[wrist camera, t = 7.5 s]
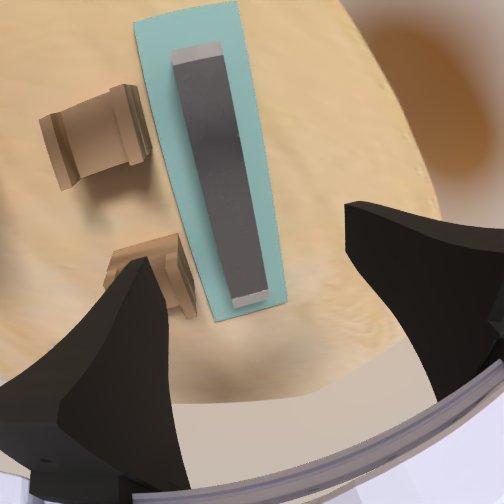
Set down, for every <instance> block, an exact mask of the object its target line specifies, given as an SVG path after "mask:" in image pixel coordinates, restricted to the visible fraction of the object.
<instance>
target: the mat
mask: <svg viewBox="0 0 504 504" xmlns="http://www.w3.org/2000/svg"><path fill="white" fill-rule="evenodd" d="M133 25H134V30H135V36H136V41H137V46H138V51H139V56H140V60H141V65H142V70H143V74H144V79H145V83H146V88H147V92H148V96H149V100H150V105H151V109H152V113H153V117H154V121H155V125H156V129H157V133H158V137H159V141H160V144H161V148H162V152H163V156H164V159H165V163H166V167H167V170H168V174H169V177H170V181H171V184H172V188H173V191H174V195H175V198H176V202H177V205H178V208H179V212H180V215H181V218H182V222H183V225H184V228H185V231H186V235H187V238H188V241H189V244H190V247H191V251H192V254H193V257H194V260H195V263H196V266H197V269H198V272H199V275H200V278H201V281H202V284H203V287H204V290H205V293H206V296H207V299H208V301H209V304H210V307H211V310H212V313H213V316H214V318H215V321H216V322H217V321H221V320H225V319H228V318H232V317H236V316H239V315H243V314H247V313H250V312H254V311H257V310H261V309H264V308H268V307H271V306H275V305H278V304H282V303H285V302H288V299H287V292H286V284H285V277H284V270H283V262H282V255H281V248H280V242H279V235H278V228H277V221H276V215H275V208H274V202H273V195H272V189H271V183H270V177H269V171H268V164H267V158H266V152H265V146H264V141H263V135H262V129H261V123H260V118H259V112H258V106H257V101H256V95H255V90H254V85H253V79H252V74H251V69H250V64H249V58H248V53H247V48H246V43H245V38H244V33H243V28H242V23H241V19H240V14H239V9H238V4H237V1H233V2H225V3H218V4H211V5H205V6H199V7H194V8H189V9H184V10H179V11H175V12H170V13H166V14H162V15H158V16H155V17H151V18H147V19H144V20H140V21H137V22H134V23H133ZM215 41H221V44H222V49H223V54H224V60H225V65H226V70H227V75H228V80H229V85H230V90H231V95H232V100H233V105H234V110H235V115H236V120H237V125H238V130H239V136H240V141H241V146H242V151H243V156H244V161H245V167H246V172H247V177H248V182H249V188H250V193H251V198H252V203H253V209H254V214H255V219H256V225H257V230H258V235H259V241H260V246H261V252H262V257H263V262H264V268H265V273H266V279H267V284H268V289H269V294H270V299H267V300H263V301H260V302H256V303H253V304H249V305H245V306H242V307H238V308H234V307H233V303H232V300H231V296H230V292H229V289H228V285H227V282H226V278H225V274H224V271H223V267H222V264H221V260H220V256H219V253H218V249H217V245H216V242H215V238H214V234H213V230H212V227H211V223H210V219H209V215H208V211H207V208H206V204H205V200H204V196H203V192H202V188H201V184H200V180H199V176H198V172H197V168H196V164H195V160H194V156H193V152H192V148H191V143H190V139H189V135H188V131H187V127H186V122H185V118H184V114H183V109H182V105H181V101H180V96H179V92H178V87H177V83H176V78H175V73H174V69H173V65H172V60H171V56H170V51H173V50H177V49H181V48H186V47H190V46H195V45H200V44H205V43H210V42H215Z"/></svg>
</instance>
